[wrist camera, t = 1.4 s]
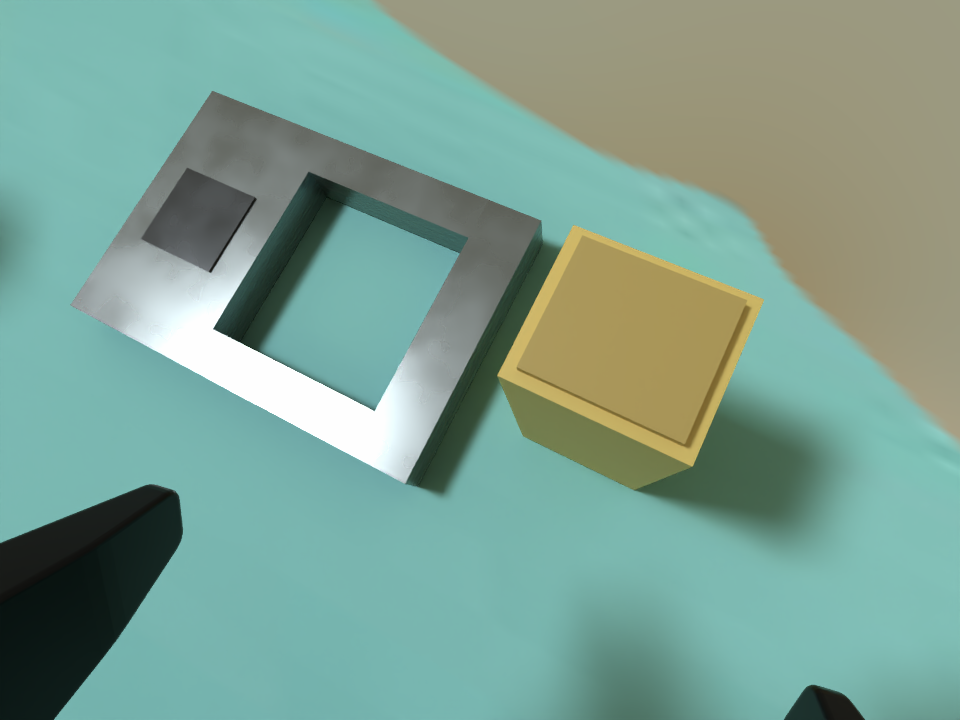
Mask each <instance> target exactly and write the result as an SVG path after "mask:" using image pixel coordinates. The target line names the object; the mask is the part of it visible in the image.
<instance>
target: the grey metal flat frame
mask: <svg viewBox="0 0 960 720" xmlns="http://www.w3.org/2000/svg"><path fill="white" fill-rule="evenodd" d="M326 197H329V198H331V199H333V200H336V201H338V202H340V203H343V204H345V205H348V206H350V207H352V208H355V209H357V210H359V211H362V212H364V213H367V214H369V215H371V216H374V217H376V218H378V219H381V220H383V221H386V222H388V223H390V224H393V225H395V226H397V227H400V228H402V229H404V230H407V231H409V232H412V233H414V234H416V235H419V236H421V237H423V238H426V239H428V240H431V241H433V242H435V243H438V244H440V245H442V246H445V247H447V248H449V249H452V250H454V251H457V252H459V253H460V254H459V256H458V258H457V260H456V262H455V264H454V266H453V267H452V269H451V271H450V273H449V275H448V277H447V279H446V280H445V282H444V284H443V286H442V288H441V290H440V291H439V293H438V295H437V297H436V299H435V301H434V303H433V304H432V306H431V308H430V310H429V312H428V314H427V316H426V317H425V319H424V321H423V323H422V325H421V327H420V328H419V330H418V332H417V334H416V336H415V338H414V340H413V341H412V343H411V345H410V347H409V349H408V351H407V353H406V354H405V356H404V358H403V360H402V362H401V364H400V365H399V367H398V369H397V371H396V373H395V375H394V377H393V378H392V380H391V382H390V384H389V386H388V388H387V390H386V391H385V393H384V395H383V397H382V399H381V401H380V402H379V404H378V406H377V408H376V410H375V411H373V410H371V409H369V408H367V407H365V406H363V405H361V404H359V403H357V402H355V401H353V400H351V399H349V398H347V397H345V396H343V395H341V394H339V393H337V392H335V391H333V390H332V389H330V388H328V387H326V386H324V385H322V384H320V383H318V382H316V381H314V380H312V379H310V378H308V377H306V376H304V375H302V374H300V373H298V372H296V371H294V370H292V369H290V368H288V367H286V366H284V365H282V364H280V363H278V362H276V361H274V360H272V359H271V358H269V357H267V356H265V355H263V354H261V353H259V352H257V351H255V350H253V349H251V348H249V347H247V346H245V345H243V344H241V343H239V342H240V341H241V339H242V337H243V335H244V334H245V332H246V330H247V329H248V327H249V325H250V324H251V322H252V320H253V319H254V317H255V315H256V314H257V312H258V310H259V309H260V307H261V305H262V304H263V302H264V300H265V299H266V297H267V295H268V294H269V292H270V290H271V289H272V287H273V285H274V284H275V282H276V280H277V279H278V277H279V275H280V274H281V272H282V270H283V269H284V267H285V265H286V264H287V262H288V260H289V259H290V257H291V255H292V254H293V252H294V250H295V249H296V247H297V245H298V244H299V242H300V240H301V239H302V237H303V235H304V234H305V232H306V230H307V229H308V227H309V225H310V224H311V222H312V220H313V219H314V217H315V215H316V213H317V212H318V210H319V208H320V207H321V205H322V203H323V202H324V200H325V198H326ZM542 244H543V242H542V224H541V220H538V219H536V218H533V217H531V216H528V215H526V214H523V213H520V212H518V211H515V210H513V209H510V208H508V207H505V206H503V205H500V204H498V203H495V202H493V201H490V200H488V199H485V198H482V197H480V196H477V195H475V194H472V193H470V192H467V191H465V190H462V189H460V188H457V187H455V186H452V185H449V184H447V183H444V182H442V181H439V180H437V179H434V178H432V177H429V176H427V175H424V174H422V173H419V172H417V171H414V170H411V169H409V168H406V167H404V166H401V165H399V164H396V163H394V162H391V161H389V160H386V159H384V158H381V157H378V156H376V155H373V154H371V153H368V152H366V151H363V150H361V149H358V148H356V147H353V146H351V145H348V144H346V143H343V142H340V141H338V140H335V139H333V138H330V137H328V136H325V135H323V134H320V133H318V132H315V131H313V130H310V129H308V128H305V127H302V126H300V125H297V124H295V123H292V122H290V121H287V120H285V119H282V118H280V117H277V116H275V115H272V114H269V113H267V112H264V111H262V110H259V109H257V108H254V107H252V106H249V105H247V104H244V103H242V102H239V101H237V100H234V99H231V98H229V97H226V96H224V95H221V94H219V93H216V92H214V91H212V92H211V94H210V95H209V97H208V98H207V100H206V101H205V103H204V104H203V106H202V107H201V109H200V110H199V112H198V113H197V115H196V116H195V118H194V119H193V121H192V122H191V124H190V125H189V127H188V128H187V130H186V131H185V133H184V135H183V136H182V138H181V139H180V141H179V142H178V144H177V145H176V147H175V148H174V150H173V151H172V153H171V154H170V156H169V157H168V159H167V160H166V162H165V163H164V165H163V166H162V168H161V169H160V171H159V172H158V174H157V175H156V177H155V178H154V180H153V181H152V183H151V184H150V186H149V187H148V189H147V190H146V192H145V193H144V195H143V196H142V198H141V199H140V201H139V202H138V204H137V205H136V207H135V208H134V210H133V211H132V213H131V214H130V216H129V217H128V219H127V220H126V222H125V223H124V225H123V226H122V228H121V230H120V231H119V233H118V234H117V236H116V237H115V239H114V240H113V242H112V243H111V245H110V246H109V248H108V249H107V251H106V252H105V254H104V255H103V257H102V258H101V260H100V261H99V263H98V264H97V266H96V267H95V269H94V270H93V272H92V273H91V275H90V276H89V278H88V279H87V281H86V282H85V284H84V285H83V287H82V288H81V290H80V291H79V293H78V294H77V296H76V297H75V299H74V300H73V302H72V303H71V306H73V307H74V308H76V309H78V310H80V311H82V312H84V313H86V314H88V315H89V316H91V317H93V318H95V319H97V320H99V321H101V322H103V323H104V324H106V325H108V326H110V327H112V328H114V329H116V330H118V331H119V332H121V333H123V334H125V335H127V336H129V337H131V338H133V339H134V340H136V341H138V342H140V343H142V344H144V345H146V346H148V347H149V348H151V349H153V350H155V351H157V352H159V353H161V354H163V355H164V356H166V357H168V358H170V359H172V360H174V361H176V362H178V363H179V364H181V365H183V366H185V367H187V368H189V369H191V370H193V371H194V372H196V373H198V374H200V375H202V376H204V377H206V378H208V379H209V380H211V381H213V382H215V383H217V384H219V385H221V386H223V387H224V388H226V389H228V390H230V391H232V392H234V393H236V394H238V395H239V396H241V397H243V398H245V399H247V400H249V401H251V402H253V403H255V404H256V405H258V406H260V407H262V408H264V409H266V410H268V411H270V412H271V413H273V414H275V415H277V416H279V417H281V418H283V419H285V420H286V421H288V422H290V423H292V424H294V425H296V426H298V427H300V428H301V429H303V430H305V431H307V432H309V433H311V434H313V435H315V436H316V437H318V438H320V439H322V440H324V441H326V442H328V443H330V444H331V445H333V446H335V447H337V448H339V449H341V450H343V451H345V452H346V453H348V454H350V455H352V456H354V457H356V458H358V459H360V460H361V461H363V462H365V463H367V464H369V465H371V466H373V467H375V468H376V469H378V470H380V471H382V472H384V473H386V474H388V475H390V476H391V477H393V478H395V479H397V480H399V481H401V482H403V483H405V484H408V485H412V486H417V487H418V485H419V484H420V482H421V480H422V478H423V476H424V474H425V472H426V470H427V468H428V466H429V464H430V462H431V460H432V458H433V456H434V454H435V452H436V450H437V448H438V447H439V445H440V443H441V441H442V439H443V437H444V435H445V433H446V431H447V429H448V427H449V425H450V423H451V421H452V419H453V417H454V415H455V413H456V412H457V410H458V408H459V406H460V404H461V402H462V400H463V398H464V396H465V394H466V392H467V390H468V388H469V386H470V384H471V382H472V380H473V378H474V376H475V375H476V373H477V371H478V369H479V367H480V365H481V363H482V361H483V359H484V357H485V355H486V353H487V351H488V349H489V347H490V345H491V343H492V341H493V339H494V338H495V336H496V334H497V332H498V330H499V328H500V326H501V324H502V322H503V320H504V318H505V316H506V314H507V312H508V310H509V308H510V306H511V304H512V303H513V301H514V299H515V297H516V295H517V293H518V291H519V289H520V287H521V285H522V283H523V281H524V279H525V277H526V275H527V273H528V271H529V269H530V267H531V266H532V264H533V262H534V260H535V258H536V256H537V254H538V252H539V250H540V248H541V246H542Z"/></svg>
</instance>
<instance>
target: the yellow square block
mask: <svg viewBox="0 0 960 720" xmlns="http://www.w3.org/2000/svg"><path fill="white" fill-rule="evenodd" d="M763 301H764V299H762V298H759V297H756V296H754V295H751V294H749V293H746V292H744V291H741V290H739V289H736V288H733V287H731V286H728V285H726V284H723V283H721V282H718V281H716V280H713V279H710V278H708V277H705V276H703V275H700V274H698V273H695V272H693V271H690V270H687V269H685V268H682V267H680V266H677V265H675V264H672V263H669V262H667V261H664V260H662V259H659V258H657V257H654V256H652V255H649V254H646V253H644V252H641V251H639V250H636V249H634V248H631V247H629V246H626V245H623V244H621V243H618V242H616V241H613V240H611V239H608V238H606V237H603V236H600V235H598V234H595V233H593V232H590V231H588V230H585V229H582V228H580V227H577V226H575V225H573V227H572V229H571V231H570V233H569V235H568V237H567V239H566V241H565V243H564V245H563V247H562V249H561V251H560V253H559V255H558V257H557V259H556V261H555V263H554V265H553V267H552V269H551V270H550V272H549V274H548V276H547V278H546V280H545V282H544V284H543V286H542V288H541V290H540V292H539V294H538V296H537V298H536V300H535V302H534V304H533V306H532V308H531V310H530V312H529V314H528V316H527V318H526V320H525V322H524V324H523V326H522V328H521V330H520V332H519V334H518V336H517V338H516V340H515V342H514V344H513V346H512V348H511V350H510V351H509V353H508V355H507V357H506V359H505V361H504V363H503V365H502V367H501V369H500V371H499V373H498V375H497V376H498V379H499V381H500V383H501V386H502V388H503V390H504V393H505V395H506V397H507V400H508V402H509V404H510V407H511V409H512V411H513V414H514V416H515V418H516V421H517V423H518V425H519V428H520V430H521V432H522V435H523V436H524V437H526V438H528V439H530V440H532V441H534V442H536V443H538V444H540V445H542V446H544V447H546V448H548V449H551V450H553V451H555V452H557V453H559V454H561V455H563V456H565V457H567V458H569V459H571V460H573V461H575V462H577V463H579V464H581V465H583V466H585V467H587V468H590V469H592V470H594V471H596V472H598V473H600V474H602V475H604V476H606V477H608V478H610V479H612V480H614V481H616V482H618V483H620V484H622V485H624V486H626V487H629V488H631V489H633V490H636V489H638V488H641V487H643V486H646V485H648V484H651V483H653V482H656V481H658V480H661V479H663V478H666V477H668V476H671V475H673V474H676V473H678V472H681V471H683V470H686V469H688V468H691V467H693V465H694V462H695V460H696V458H697V455H698V453H699V451H700V448H701V446H702V444H703V441H704V439H705V437H706V434H707V432H708V430H709V427H710V425H711V423H712V420H713V418H714V416H715V413H716V411H717V409H718V406H719V404H720V402H721V399H722V397H723V395H724V392H725V390H726V388H727V385H728V383H729V381H730V378H731V376H732V374H733V371H734V369H735V367H736V364H737V362H738V360H739V357H740V355H741V353H742V350H743V348H744V346H745V343H746V341H747V339H748V336H749V334H750V332H751V329H752V327H753V325H754V322H755V320H756V318H757V315H758V313H759V311H760V308H761V306H762V304H763Z"/></svg>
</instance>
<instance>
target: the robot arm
mask: <svg viewBox="0 0 960 720" xmlns="http://www.w3.org/2000/svg"><path fill="white" fill-rule="evenodd" d="M182 534H183V526H182V517H181V508H180V499H179V495H178V494H177V493H176V491H174V490H171V489H168V488H165V487H161V486H158V485H153V484H150V485H145V486H142V487H140V488H137V489H135V490H132V491H130V492H127V493H125V494H122V495H120V496H117V497H115V498H112V499H110V500H107V501H105V502H102V503H100V504H97V505H95V506H92V507H90V508H87V509H85V510H82V511H80V512H77V513H74V514H72V515H69V516H67V517H64V518H62V519H59V520H57V521H54V522H52V523H49V524H47V525H44V526H42V527H39V528H37V529H34V530H32V531H29V532H27V533H24V534H22V535H19V536H17V537H14V538H12V539H9V540H7V541H4V542H2V543H0V720H54V719H55V717H56V716H57V715H58V714H59V712H60V711H61V710H62V709H63V707H64V706H65V705H66V704H67V702H68V701H69V700H70V699H71V697H72V696H73V695H74V694H75V692H76V691H77V690H78V689H79V687H80V686H81V685H82V684H83V682H84V681H85V680H86V679H87V677H88V676H89V675H90V674H91V672H92V671H93V670H94V669H95V667H96V666H97V665H98V664H99V662H100V661H101V660H102V658H103V657H104V656H105V655H106V653H107V652H108V651H109V649H110V648H111V647H112V645H113V644H114V643H115V642H116V640H117V639H118V637H119V636H120V634H121V633H122V632H123V630H124V629H125V627H126V626H127V624H128V623H129V621H130V620H131V618H132V617H133V615H134V614H135V612H136V611H137V609H138V608H139V606H140V604H141V603H142V601H143V600H144V598H145V597H146V595H147V594H148V592H149V591H150V589H151V588H152V586H153V585H154V583H155V582H156V580H157V579H158V577H159V575H160V574H161V572H162V571H163V569H164V568H165V566H166V565H167V563H168V562H169V560H170V559H171V557H172V556H173V554H174V553H175V551H176V550H177V548H178V546H179V544H180V542H181V539H182ZM784 720H865V719H864V718H863V716H862V715H861V714H860V712H859V711H858V710H857V708H856V707H855V706H854V704H853V703H852V702H851V701H850V700H849V699H848V698H847V697H846V696H845V695H844V694H842V693H840V692H837V691H834V690H830V689H827V688H824V687H821V686H817V685H810V686H808V687H806V688H805V689H804V691H803V692H802V693H801V695H800V696H799V698H798V699H797V701H796V702H795V704H794V705H793V707H792V708H791V710H790V711H789V713H788V714H787V715H786V717H785V719H784Z"/></svg>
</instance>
